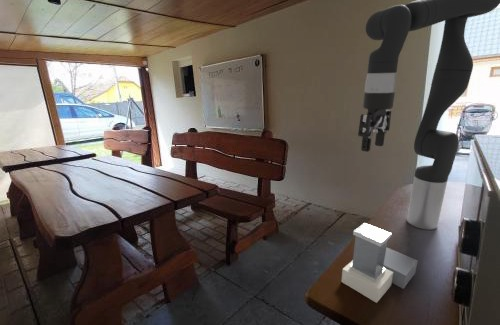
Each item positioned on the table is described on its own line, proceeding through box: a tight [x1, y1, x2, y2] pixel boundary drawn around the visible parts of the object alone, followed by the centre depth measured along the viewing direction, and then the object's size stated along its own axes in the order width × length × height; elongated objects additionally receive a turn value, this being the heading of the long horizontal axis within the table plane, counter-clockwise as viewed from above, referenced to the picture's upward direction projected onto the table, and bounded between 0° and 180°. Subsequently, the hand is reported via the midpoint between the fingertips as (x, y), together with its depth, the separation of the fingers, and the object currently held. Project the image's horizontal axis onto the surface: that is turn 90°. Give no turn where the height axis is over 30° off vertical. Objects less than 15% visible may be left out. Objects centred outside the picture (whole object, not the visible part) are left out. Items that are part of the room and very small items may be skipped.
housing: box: [349, 222, 392, 283], centre depth 63 cm, size 6×6×11 cm
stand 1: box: [341, 259, 393, 304], centre depth 66 cm, size 8×9×4 cm
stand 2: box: [383, 247, 419, 290], centre depth 69 cm, size 8×9×4 cm
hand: (372, 148), depth 76 cm, fingers open, 8 cm apart
